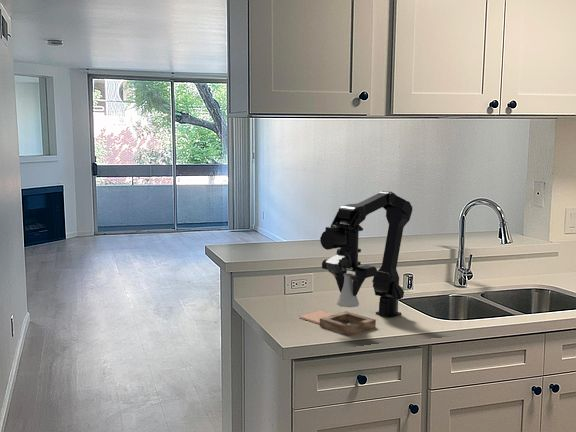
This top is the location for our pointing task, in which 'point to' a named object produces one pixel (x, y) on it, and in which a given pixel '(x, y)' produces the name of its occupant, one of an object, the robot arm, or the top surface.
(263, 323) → the top surface
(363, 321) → the walnut holder
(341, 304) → the flask
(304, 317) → the terracotta coaster
